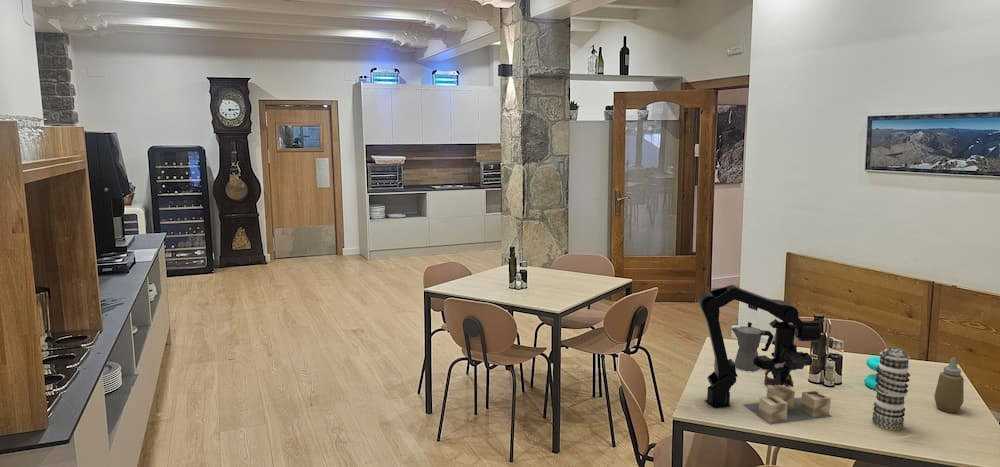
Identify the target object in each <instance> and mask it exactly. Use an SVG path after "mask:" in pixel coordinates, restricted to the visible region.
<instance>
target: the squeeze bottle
mask: <svg viewBox="0 0 1000 467" xmlns="http://www.w3.org/2000/svg"><path fill="white" fill-rule="evenodd" d="M961 373H962V370H961V368H959V367H958V364H957V358H956V357H952V356H951V358H950V361H949V363H948V365H946V366H944V367H943V372H940V373H939V375H938V380H937V384H936V388H935V392H934V396H933V398H934V401H935V404H936V408H937V409H938V410H940V411H942V412H945V413H946V412H947V413H952V414H953V413H958V412H959V410H960V409H961V407H962V406H963V403H964V396H965V395H964V394H965V393H964V392H965V391H964V387H965V386H964V376H962V374H961Z"/></svg>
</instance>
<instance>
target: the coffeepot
mask: <svg viewBox="0 0 1000 467" xmlns="http://www.w3.org/2000/svg"><path fill="white" fill-rule="evenodd" d="M752 325H753V323H752V322H750V321H749V322H747V326H743V325H742V326H739V327H737V326H736V327H732V328H731V331H732V332H733V333H734V335H735V337H736V339H737V346H738V349H737V352H736V356H735V357H736V358H735V361H734V364H735V367H736V368H737V369H739V370H742V371H747V372H753V371H754V372H755V371H758V370H759V369H760V368H759V367H758V366H756V365H754V364H753V360H754V358H755V357H756V356H759V352H758V348H759V347H760V344H761V343H760V342H761V339H762V336H768V338H767V341H766V343H765V344H764V345H765V346H764V348H762V347H761V348H760V349H761V351H762V352H767V351H768V350H769V348H770V346H771V344H772V341H774V337H775V336H774V334H772V332H771V331H770V330H765V329H760V328H758V327H753V326H752Z"/></svg>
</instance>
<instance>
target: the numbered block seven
mask: <svg viewBox="0 0 1000 467" xmlns="http://www.w3.org/2000/svg"><path fill="white" fill-rule="evenodd" d="M801 398H802V399H801V410H802V411H804V412H806V413H807V414H809V415H810V416H812V417H820V416H827V415H829V414H830V410H831V409H830V408H831V400H832V399H831V397H830V396H828V395H826V394H824V393H823V392H821V391H819V390H811V391H810V390H809V391H802V392H801Z"/></svg>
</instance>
